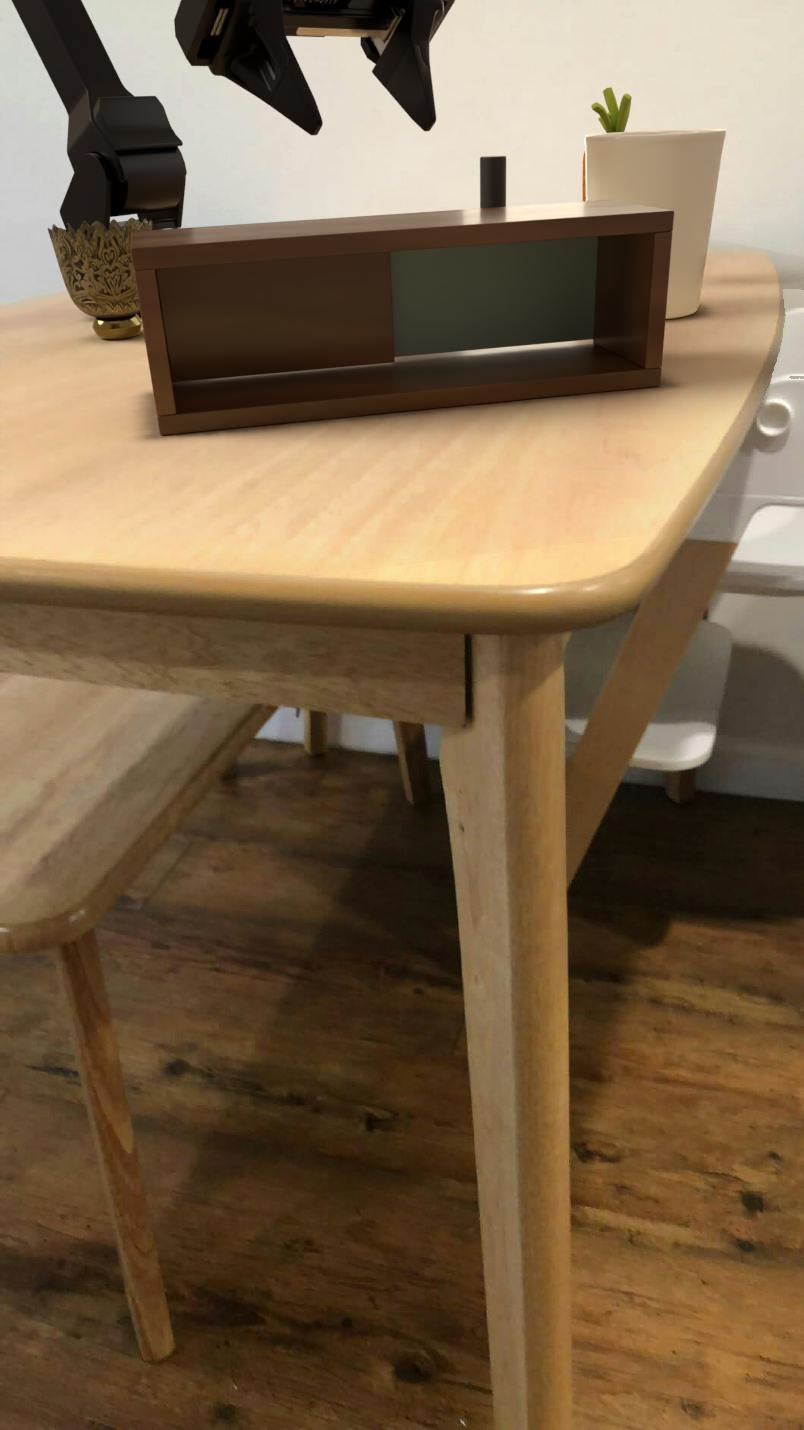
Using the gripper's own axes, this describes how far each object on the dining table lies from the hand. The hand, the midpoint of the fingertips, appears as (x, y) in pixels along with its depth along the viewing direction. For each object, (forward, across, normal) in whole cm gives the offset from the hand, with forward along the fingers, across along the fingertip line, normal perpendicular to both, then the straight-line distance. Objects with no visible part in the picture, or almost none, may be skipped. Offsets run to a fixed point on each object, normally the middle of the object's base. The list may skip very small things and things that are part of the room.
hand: (376, 128), depth 66 cm
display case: (+18, -8, 0) cm, 20 cm away
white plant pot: (+14, +21, +4) cm, 25 cm away
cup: (-2, -10, +24) cm, 26 cm away
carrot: (+7, +28, +11) cm, 31 cm away
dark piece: (+15, +1, +1) cm, 15 cm away
